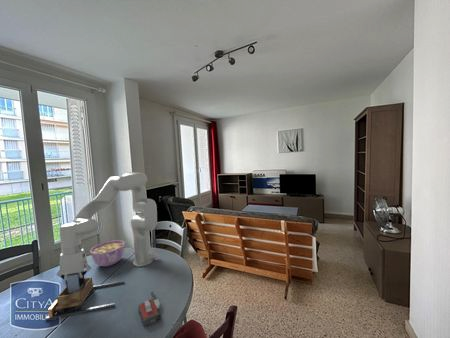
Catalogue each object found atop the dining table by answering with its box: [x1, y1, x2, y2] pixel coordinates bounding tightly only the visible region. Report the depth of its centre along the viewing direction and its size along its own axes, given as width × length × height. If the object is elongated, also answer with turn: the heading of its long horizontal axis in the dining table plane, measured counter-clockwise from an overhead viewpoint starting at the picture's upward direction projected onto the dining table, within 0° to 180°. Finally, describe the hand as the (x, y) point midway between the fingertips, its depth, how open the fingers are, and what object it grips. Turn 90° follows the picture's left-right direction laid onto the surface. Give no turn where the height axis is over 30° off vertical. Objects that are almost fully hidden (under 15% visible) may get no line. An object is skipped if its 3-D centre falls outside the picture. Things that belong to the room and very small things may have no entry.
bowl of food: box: [89, 239, 125, 268], centre depth 134 cm, size 20×20×12 cm
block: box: [67, 273, 83, 293], centre depth 97 cm, size 4×4×8 cm
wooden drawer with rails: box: [45, 280, 125, 321], centre depth 99 cm, size 27×19×5 cm
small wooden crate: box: [56, 276, 95, 314], centre depth 98 cm, size 10×15×8 cm, turn 14°
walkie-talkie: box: [137, 291, 162, 327], centre depth 90 cm, size 9×4×20 cm
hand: (75, 285), depth 98 cm, fingers closed on block, 4 cm apart
